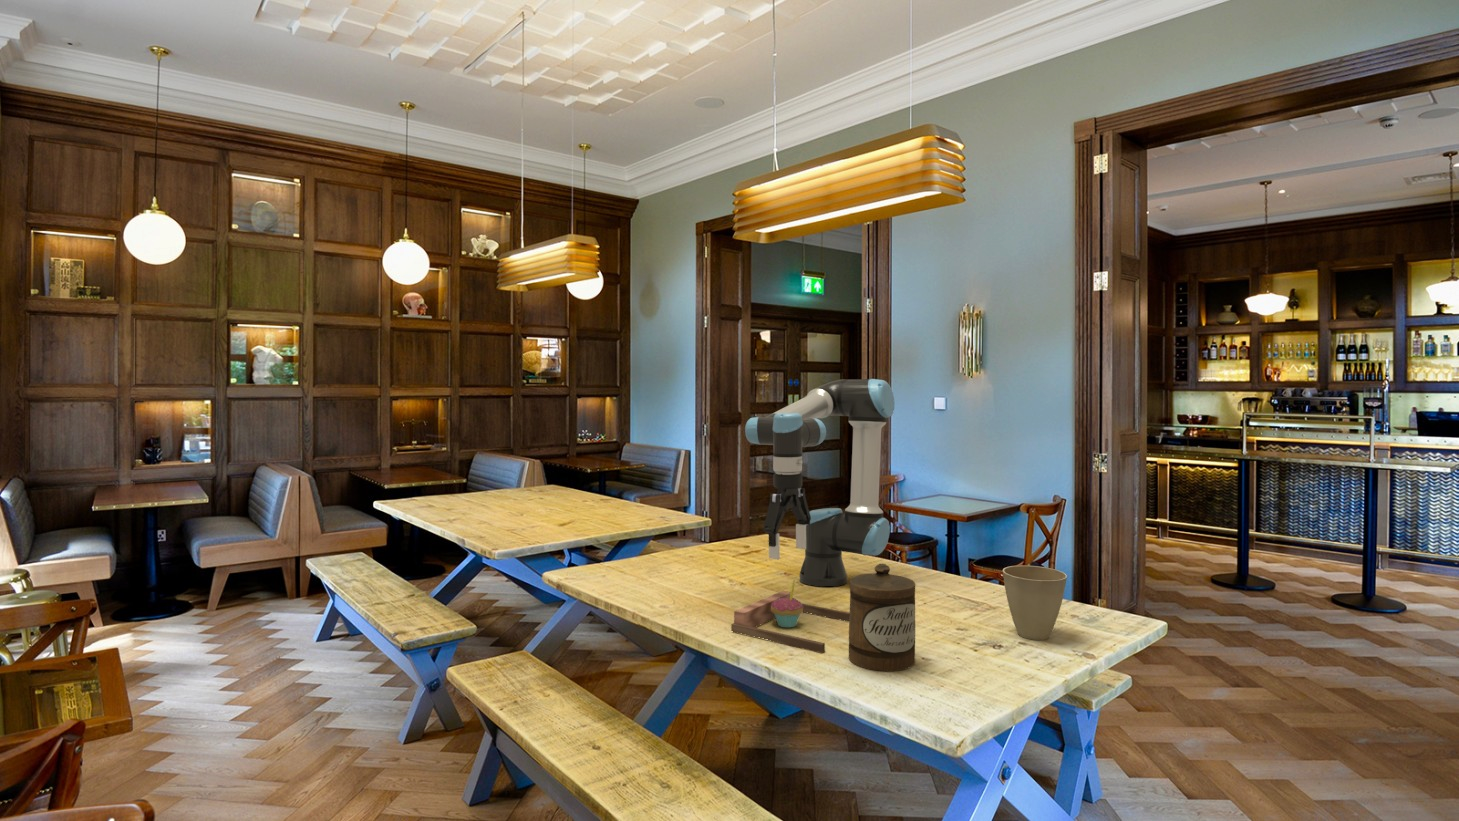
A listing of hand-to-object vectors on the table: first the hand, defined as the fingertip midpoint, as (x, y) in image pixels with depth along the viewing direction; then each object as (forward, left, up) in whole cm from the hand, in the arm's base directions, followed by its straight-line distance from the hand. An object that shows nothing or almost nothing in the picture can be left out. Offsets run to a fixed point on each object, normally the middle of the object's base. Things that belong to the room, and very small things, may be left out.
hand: (788, 553), depth 196 cm
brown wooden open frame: (0, +5, -19) cm, 19 cm away
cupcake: (0, 0, -19) cm, 19 cm away
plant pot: (-29, +55, -19) cm, 64 cm away
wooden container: (+9, +31, -19) cm, 37 cm away
